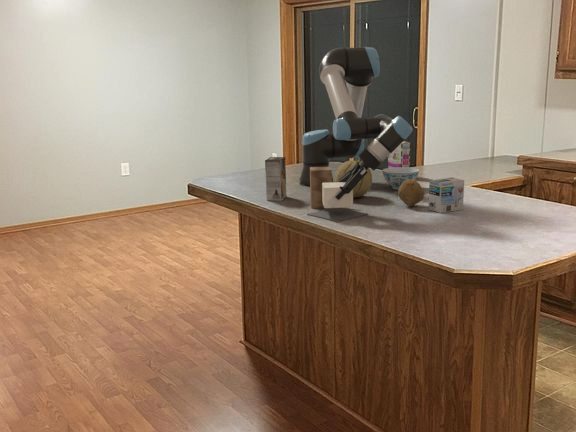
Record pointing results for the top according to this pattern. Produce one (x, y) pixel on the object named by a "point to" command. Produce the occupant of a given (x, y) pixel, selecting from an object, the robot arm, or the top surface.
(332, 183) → the cream cube
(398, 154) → the candy bar box
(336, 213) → the mat
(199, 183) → the top surface
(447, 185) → the light bulb box
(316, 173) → the tin
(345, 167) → the cantaloupe
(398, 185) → the chinaware
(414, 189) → the coconut
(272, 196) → the coffee box
